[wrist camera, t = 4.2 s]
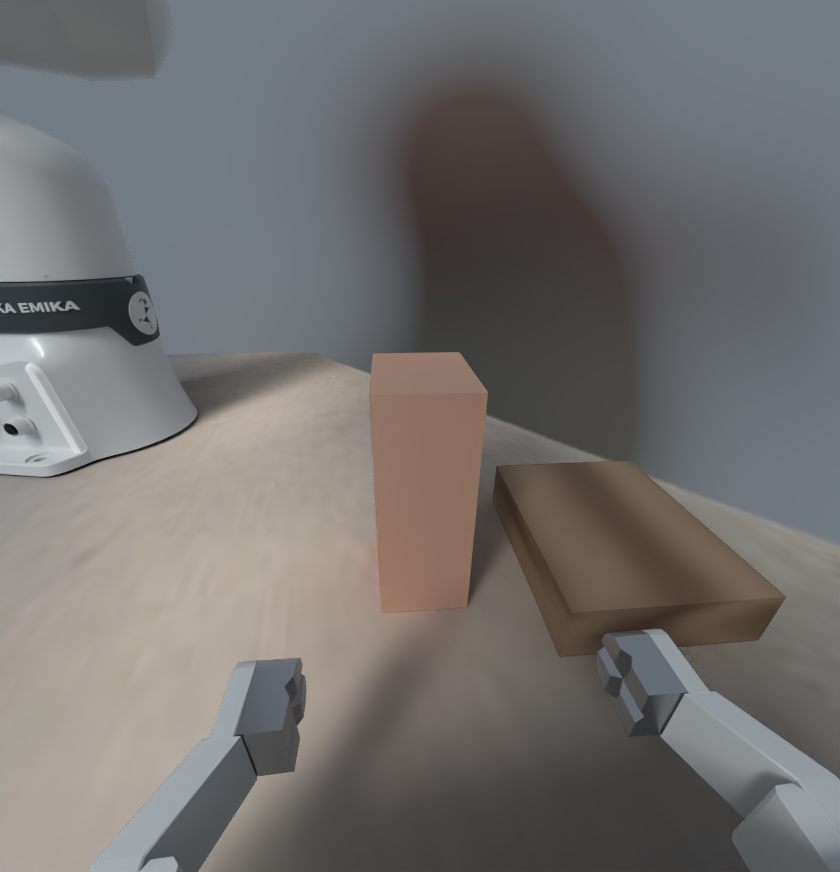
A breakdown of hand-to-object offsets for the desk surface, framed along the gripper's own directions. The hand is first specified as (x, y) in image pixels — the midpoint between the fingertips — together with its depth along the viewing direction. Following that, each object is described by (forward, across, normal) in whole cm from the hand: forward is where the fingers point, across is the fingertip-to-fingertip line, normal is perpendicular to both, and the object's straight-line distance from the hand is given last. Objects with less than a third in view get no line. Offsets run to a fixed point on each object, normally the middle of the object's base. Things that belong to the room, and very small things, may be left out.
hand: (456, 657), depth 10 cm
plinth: (+10, -11, +7) cm, 17 cm away
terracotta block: (+10, 0, +7) cm, 12 cm away
